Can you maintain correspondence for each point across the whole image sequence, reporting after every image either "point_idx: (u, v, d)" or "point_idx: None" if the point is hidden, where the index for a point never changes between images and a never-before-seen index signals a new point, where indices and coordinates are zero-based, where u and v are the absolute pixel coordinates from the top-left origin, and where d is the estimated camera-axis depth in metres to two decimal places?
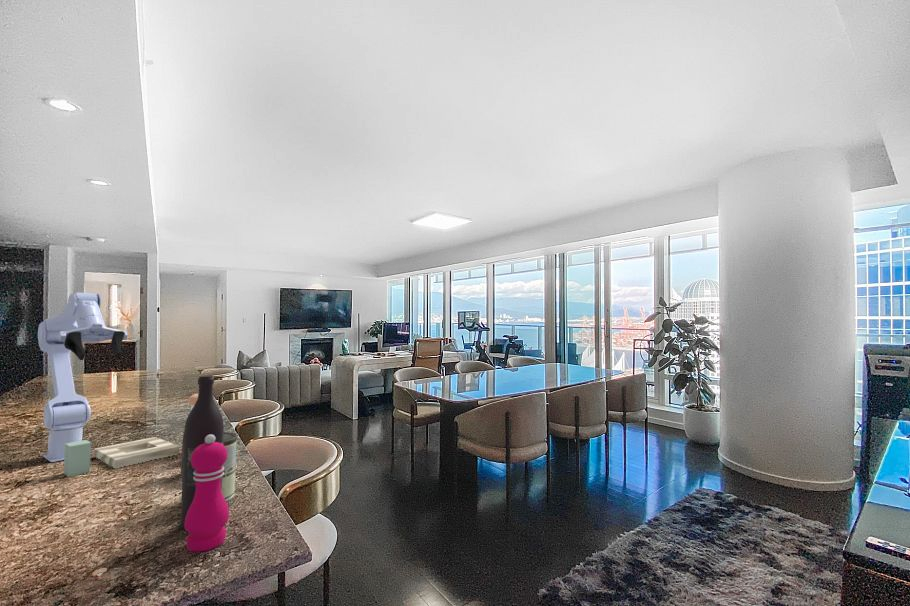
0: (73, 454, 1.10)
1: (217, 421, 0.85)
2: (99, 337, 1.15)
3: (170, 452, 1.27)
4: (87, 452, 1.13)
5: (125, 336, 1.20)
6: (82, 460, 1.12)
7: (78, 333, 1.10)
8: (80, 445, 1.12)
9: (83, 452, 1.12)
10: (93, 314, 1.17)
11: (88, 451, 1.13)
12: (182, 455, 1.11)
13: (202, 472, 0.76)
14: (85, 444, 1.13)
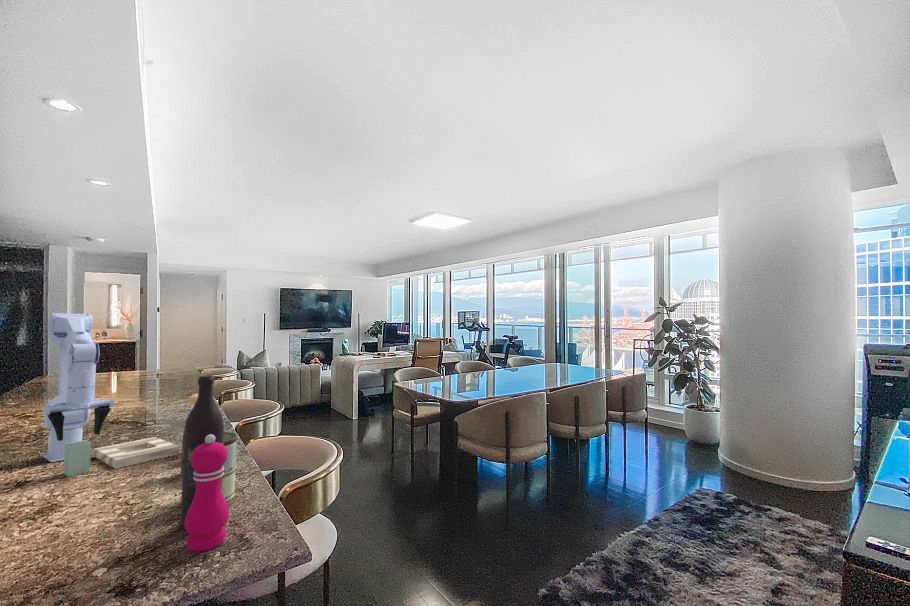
0: (73, 454, 1.10)
1: (217, 421, 0.85)
2: (84, 409, 1.14)
3: (170, 452, 1.27)
4: (87, 452, 1.13)
5: None
6: (82, 460, 1.12)
7: (62, 417, 1.08)
8: (80, 445, 1.12)
9: (83, 452, 1.12)
10: (83, 385, 1.12)
11: (88, 451, 1.13)
12: (182, 455, 1.11)
13: (202, 472, 0.76)
14: (85, 444, 1.13)
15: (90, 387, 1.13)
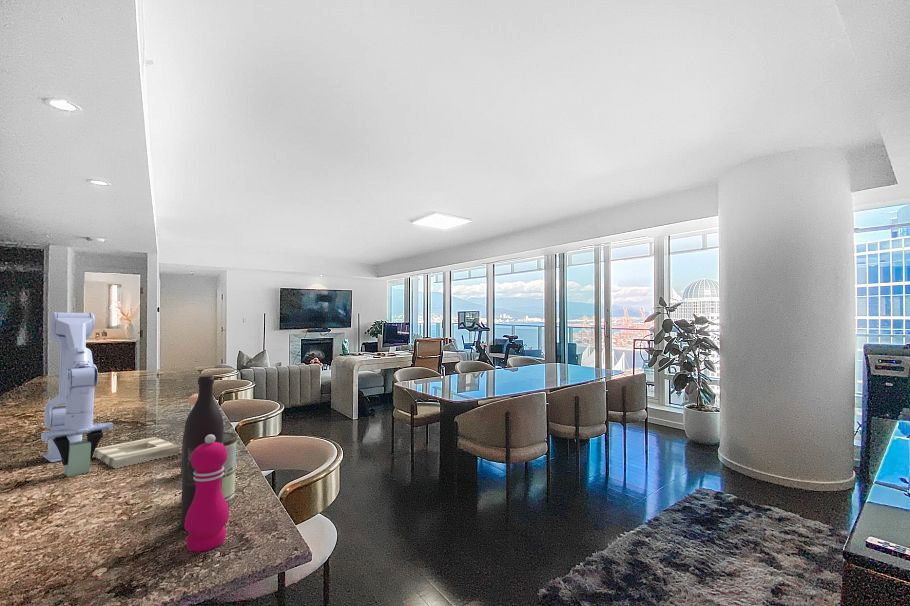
0: (73, 454, 1.10)
1: (217, 421, 0.85)
2: (83, 433, 1.14)
3: (170, 452, 1.27)
4: (87, 452, 1.13)
5: None
6: (82, 460, 1.12)
7: (67, 442, 1.09)
8: (80, 445, 1.12)
9: (83, 452, 1.12)
10: (82, 410, 1.12)
11: (88, 451, 1.13)
12: (182, 455, 1.11)
13: (202, 472, 0.76)
14: (85, 444, 1.13)
15: (89, 412, 1.13)
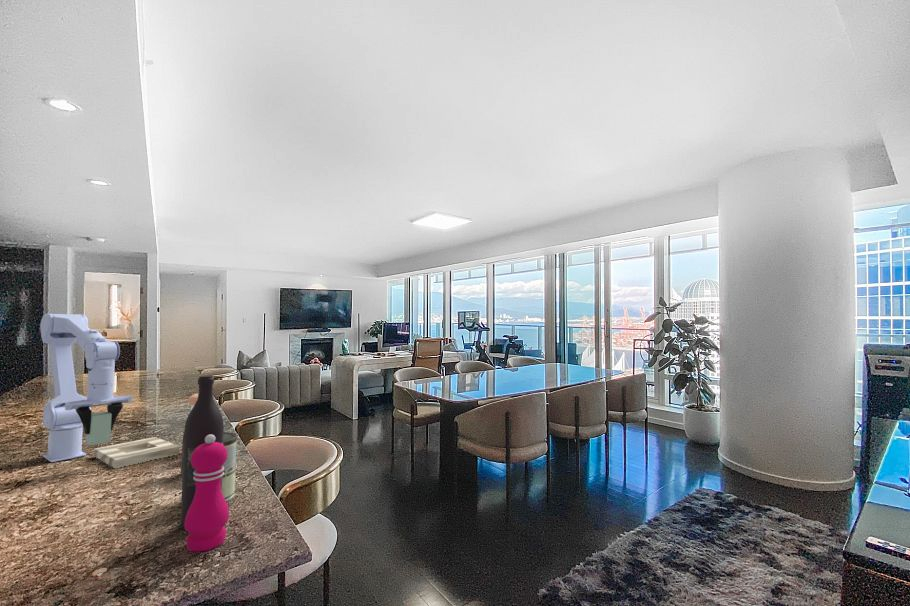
0: (95, 424, 1.15)
1: (217, 421, 0.85)
2: (103, 405, 1.19)
3: (170, 452, 1.27)
4: (108, 422, 1.18)
5: None
6: (103, 430, 1.17)
7: (89, 411, 1.14)
8: (101, 415, 1.16)
9: (104, 422, 1.17)
10: (106, 382, 1.17)
11: (109, 422, 1.18)
12: (182, 455, 1.11)
13: (202, 472, 0.76)
14: (106, 415, 1.17)
15: (109, 384, 1.18)
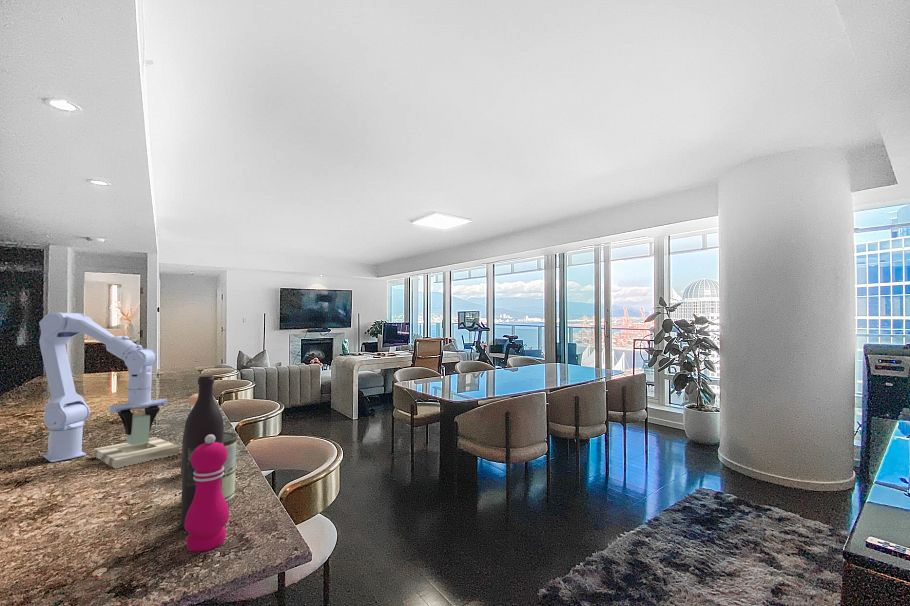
0: (136, 425, 1.25)
1: (217, 421, 0.85)
2: None
3: (170, 452, 1.27)
4: (147, 424, 1.28)
5: None
6: (143, 431, 1.27)
7: (131, 414, 1.24)
8: (141, 417, 1.26)
9: (144, 424, 1.27)
10: (149, 386, 1.29)
11: (148, 423, 1.28)
12: (182, 455, 1.11)
13: (202, 472, 0.76)
14: (145, 417, 1.27)
15: (148, 388, 1.28)
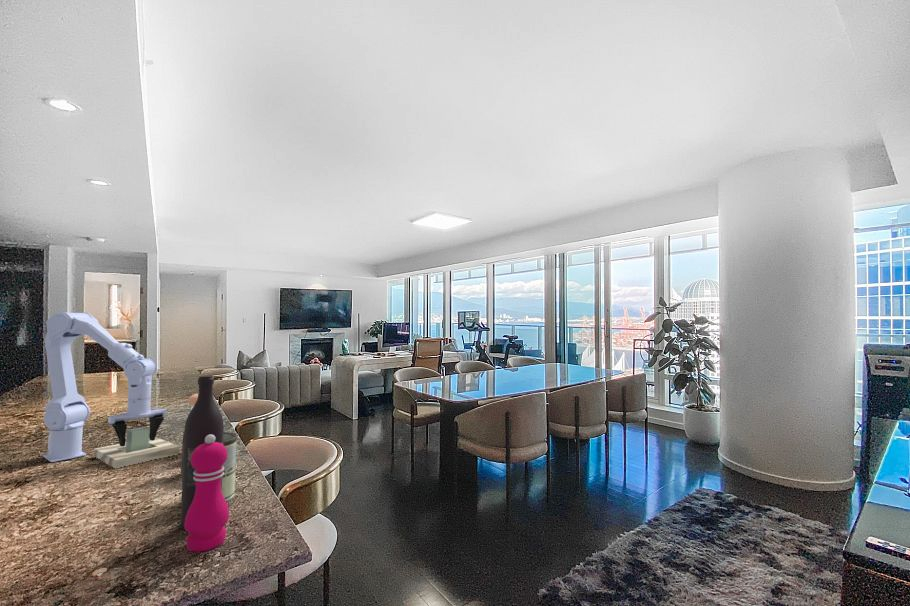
0: (135, 439, 1.25)
1: (217, 421, 0.85)
2: None
3: (170, 452, 1.27)
4: (146, 437, 1.27)
5: None
6: (142, 445, 1.26)
7: (125, 425, 1.23)
8: (140, 431, 1.26)
9: (143, 437, 1.27)
10: (149, 396, 1.28)
11: (147, 437, 1.28)
12: (182, 455, 1.11)
13: (202, 472, 0.76)
14: (144, 430, 1.27)
15: (147, 398, 1.28)
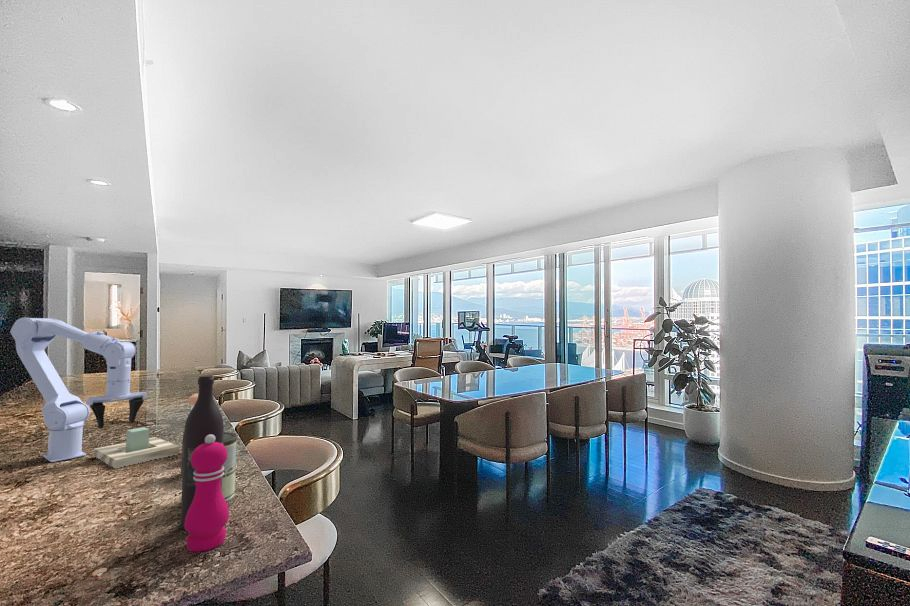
0: (135, 439, 1.25)
1: (217, 421, 0.85)
2: (121, 400, 1.28)
3: (170, 452, 1.27)
4: (146, 437, 1.27)
5: None
6: (142, 445, 1.26)
7: (103, 407, 1.23)
8: (140, 431, 1.26)
9: (143, 437, 1.27)
10: (128, 378, 1.28)
11: (147, 437, 1.28)
12: (182, 455, 1.11)
13: (202, 472, 0.76)
14: (144, 430, 1.27)
15: (126, 381, 1.28)
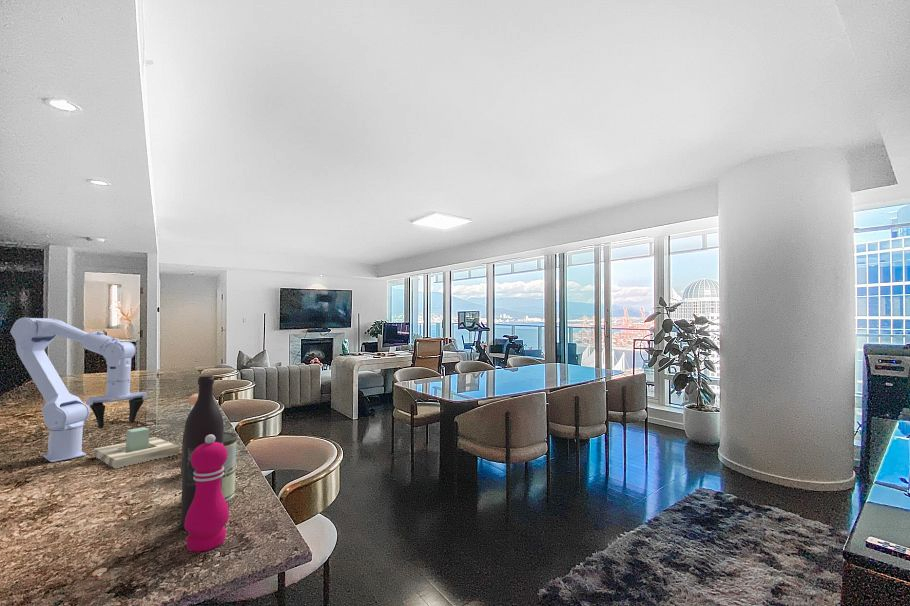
0: (135, 439, 1.25)
1: (217, 421, 0.85)
2: (121, 400, 1.28)
3: (170, 452, 1.27)
4: (146, 437, 1.27)
5: None
6: (142, 445, 1.26)
7: (103, 407, 1.23)
8: (140, 431, 1.26)
9: (143, 437, 1.27)
10: (128, 378, 1.28)
11: (147, 437, 1.28)
12: (182, 455, 1.11)
13: (202, 472, 0.76)
14: (144, 430, 1.27)
15: (126, 381, 1.28)
